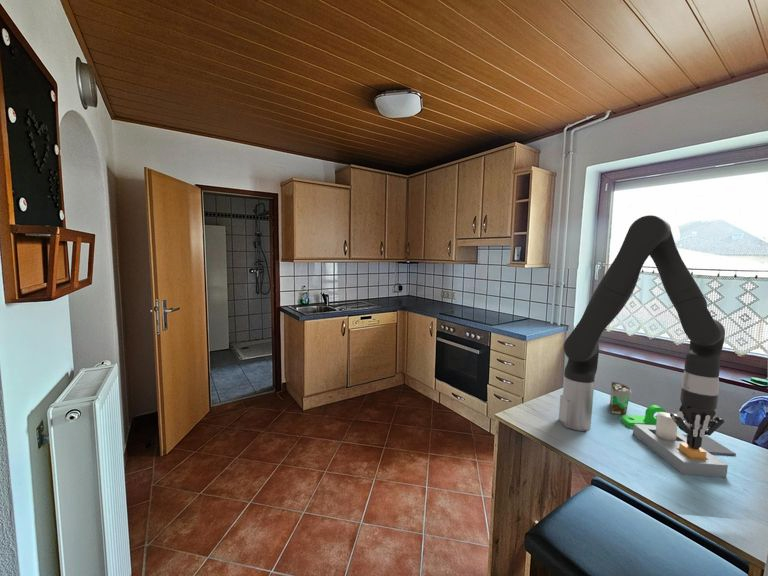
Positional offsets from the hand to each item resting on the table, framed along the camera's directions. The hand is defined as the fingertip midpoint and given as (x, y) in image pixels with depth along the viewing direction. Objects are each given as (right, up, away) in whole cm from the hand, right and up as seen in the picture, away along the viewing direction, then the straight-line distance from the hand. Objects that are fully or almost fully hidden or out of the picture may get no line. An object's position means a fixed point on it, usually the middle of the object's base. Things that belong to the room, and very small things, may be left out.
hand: (693, 447), depth 94 cm
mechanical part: (+4, -4, +24) cm, 25 cm away
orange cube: (0, -5, +1) cm, 5 cm away
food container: (+3, -3, +33) cm, 34 cm away
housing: (0, -5, +7) cm, 8 cm away
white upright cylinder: (+1, -5, +11) cm, 12 cm away
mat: (+14, -5, +11) cm, 18 cm away
